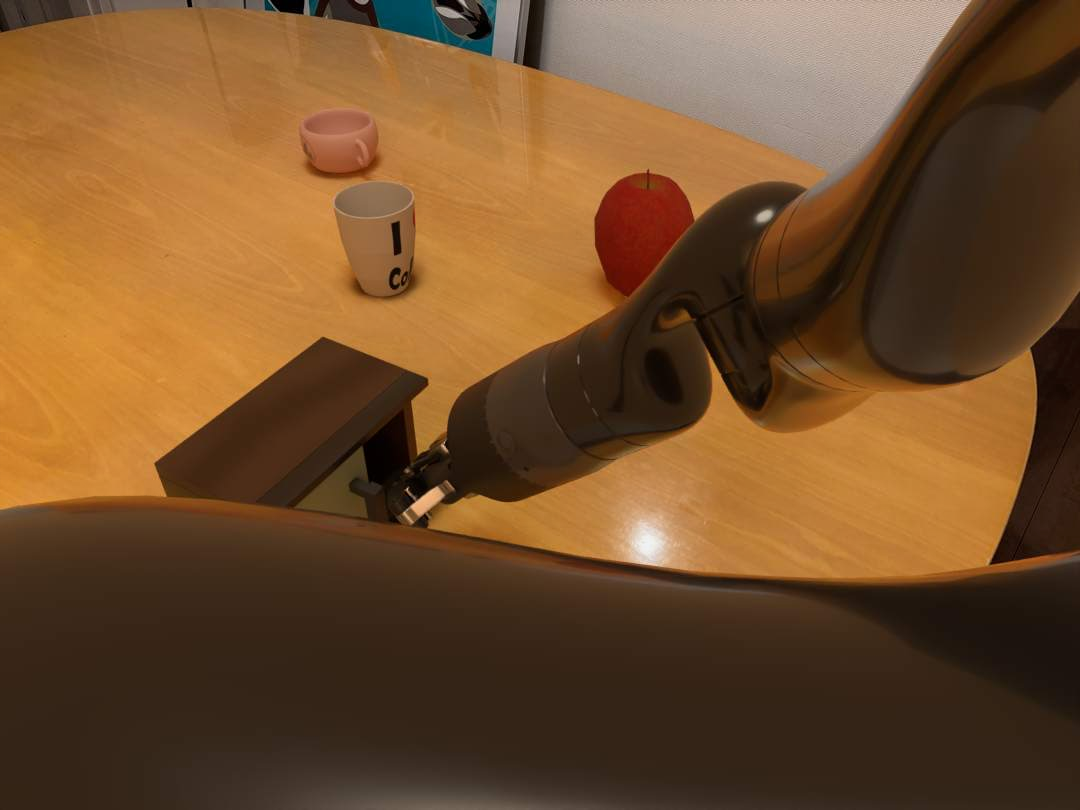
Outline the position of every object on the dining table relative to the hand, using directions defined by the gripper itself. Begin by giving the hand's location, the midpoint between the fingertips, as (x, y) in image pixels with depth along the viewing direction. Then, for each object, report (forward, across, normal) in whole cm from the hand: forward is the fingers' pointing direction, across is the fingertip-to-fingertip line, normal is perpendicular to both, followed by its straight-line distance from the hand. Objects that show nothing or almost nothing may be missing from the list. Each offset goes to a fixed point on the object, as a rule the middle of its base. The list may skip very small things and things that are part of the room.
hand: (393, 491), depth 63 cm
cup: (+22, +29, +13) cm, 39 cm away
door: (+4, -5, -4) cm, 7 cm away
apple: (+5, +42, -4) cm, 42 cm away
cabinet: (+9, -2, 0) cm, 9 cm away
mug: (+38, +49, +28) cm, 68 cm away
